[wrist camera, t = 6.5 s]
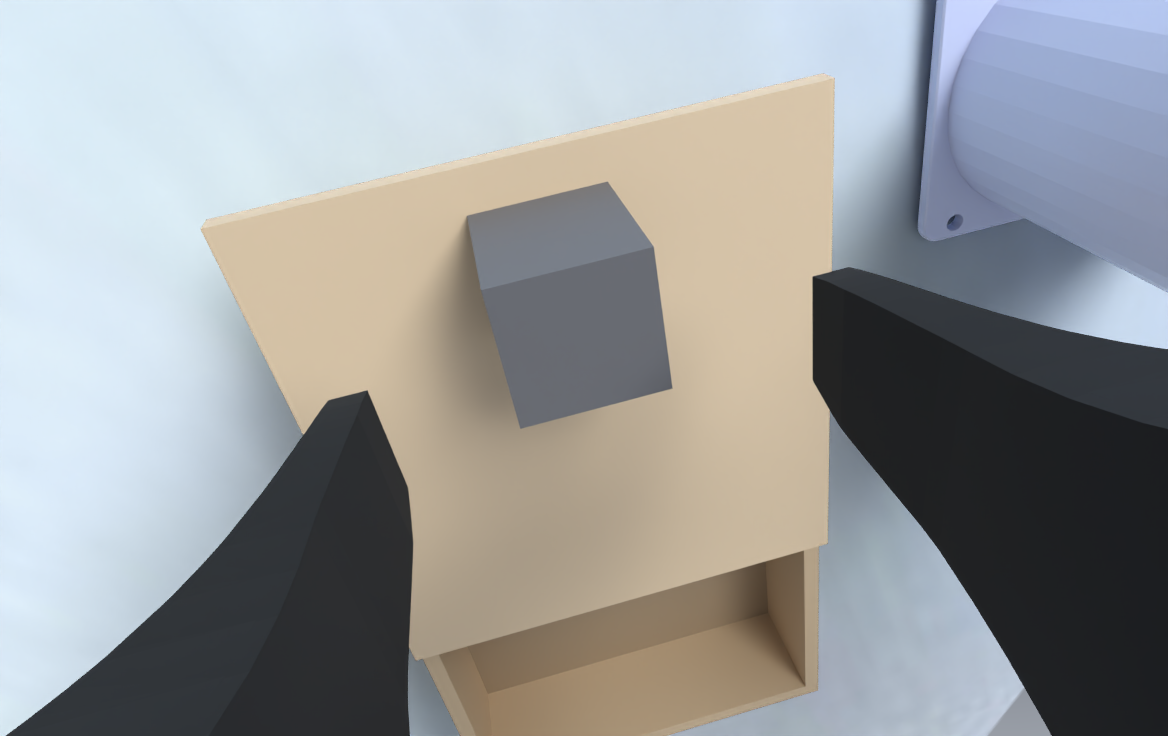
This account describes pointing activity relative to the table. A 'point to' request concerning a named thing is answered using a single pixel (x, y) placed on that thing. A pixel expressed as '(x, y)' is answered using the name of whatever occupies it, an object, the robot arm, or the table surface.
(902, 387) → the robot arm
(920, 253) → the table surface
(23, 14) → the table surface
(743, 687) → the carton
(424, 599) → the sliding lid
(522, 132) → the table surface
